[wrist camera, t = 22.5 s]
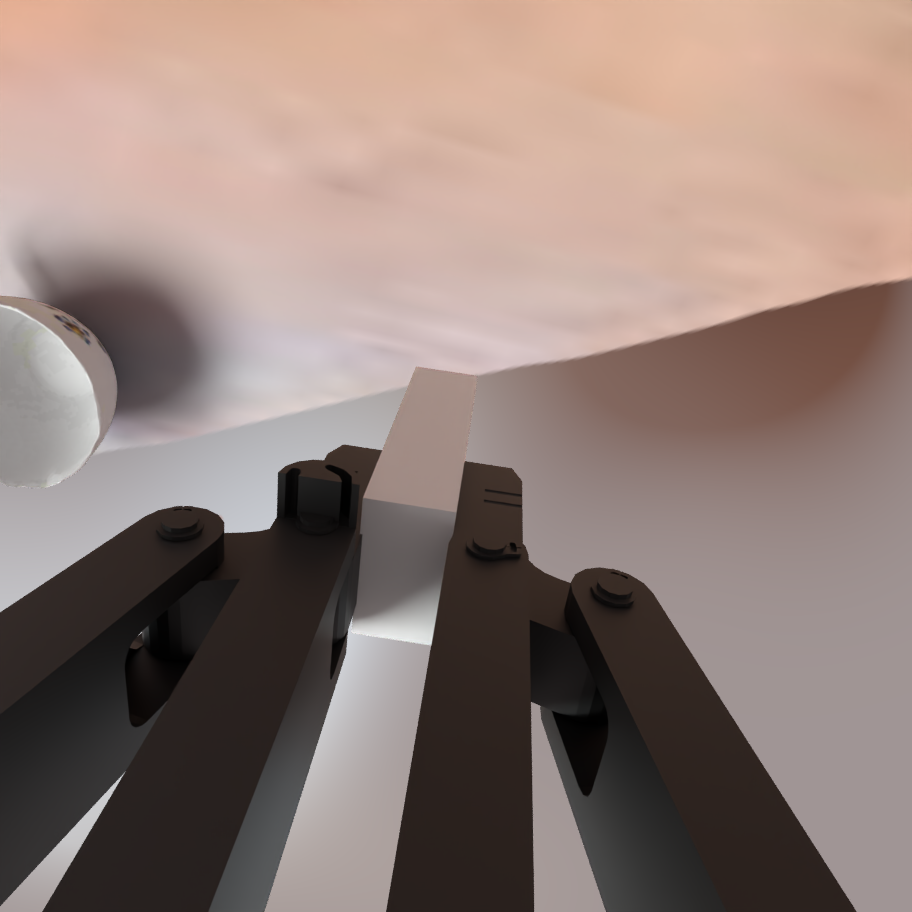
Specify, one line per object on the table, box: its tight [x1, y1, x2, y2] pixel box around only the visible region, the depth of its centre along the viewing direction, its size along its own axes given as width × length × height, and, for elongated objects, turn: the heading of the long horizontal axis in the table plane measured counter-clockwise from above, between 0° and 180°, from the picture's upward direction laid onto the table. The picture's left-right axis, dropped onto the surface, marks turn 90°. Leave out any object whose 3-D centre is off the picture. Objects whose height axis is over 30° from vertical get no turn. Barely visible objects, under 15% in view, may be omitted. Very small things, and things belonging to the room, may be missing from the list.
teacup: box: [0, 296, 117, 488], centre depth 49 cm, size 15×12×8 cm
